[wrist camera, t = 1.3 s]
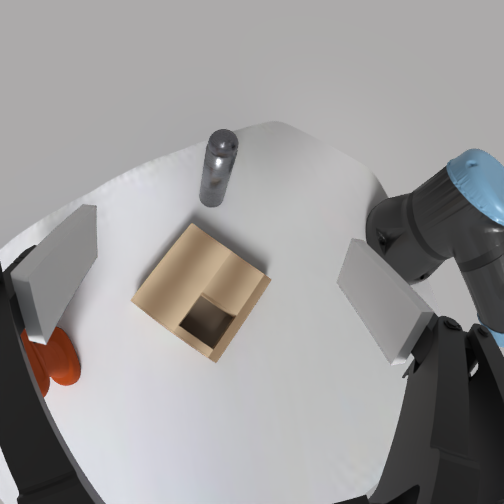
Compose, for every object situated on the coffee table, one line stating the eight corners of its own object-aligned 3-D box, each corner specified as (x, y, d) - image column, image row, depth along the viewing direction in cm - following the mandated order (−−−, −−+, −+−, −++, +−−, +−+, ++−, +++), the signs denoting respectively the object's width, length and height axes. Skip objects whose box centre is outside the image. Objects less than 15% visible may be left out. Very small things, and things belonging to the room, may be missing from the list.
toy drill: (34, 243, 32) (-22, 207, 18) (89, 375, 31) (49, 408, 17) (9, 259, 30) (-53, 230, 16) (61, 388, 29) (13, 423, 15)
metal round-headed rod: (228, 195, 42) (248, 133, 29) (214, 211, 40) (229, 152, 28) (209, 182, 42) (222, 117, 29) (194, 198, 40) (202, 135, 28)
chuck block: (265, 284, 39) (271, 279, 36) (213, 361, 34) (216, 362, 32) (190, 231, 39) (191, 222, 36) (134, 304, 34) (130, 300, 32)
